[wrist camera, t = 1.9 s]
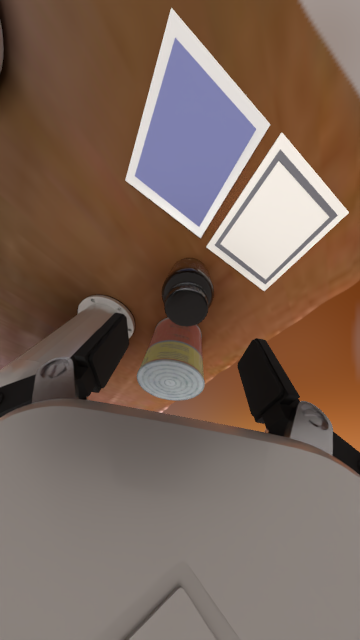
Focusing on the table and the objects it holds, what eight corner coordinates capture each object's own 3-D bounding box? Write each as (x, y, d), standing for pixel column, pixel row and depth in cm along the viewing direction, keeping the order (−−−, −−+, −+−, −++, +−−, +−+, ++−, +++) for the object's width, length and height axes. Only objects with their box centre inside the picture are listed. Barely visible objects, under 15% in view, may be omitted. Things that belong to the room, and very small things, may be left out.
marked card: (346, 212, 18) (349, 212, 18) (263, 290, 24) (264, 291, 24) (280, 133, 15) (282, 131, 15) (206, 246, 22) (206, 247, 21)
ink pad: (266, 129, 15) (271, 123, 14) (200, 238, 21) (200, 238, 20) (172, 19, 12) (171, 4, 11) (127, 182, 18) (124, 179, 17)
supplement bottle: (206, 295, 26) (213, 336, 16) (171, 294, 27) (157, 333, 17) (210, 256, 22) (223, 278, 12) (169, 256, 23) (149, 277, 13)
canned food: (147, 340, 34) (127, 385, 24) (168, 307, 28) (153, 349, 18) (185, 358, 37) (181, 406, 27) (211, 331, 31) (219, 380, 21)
